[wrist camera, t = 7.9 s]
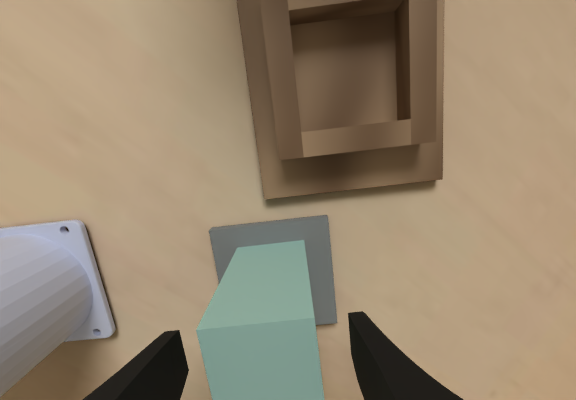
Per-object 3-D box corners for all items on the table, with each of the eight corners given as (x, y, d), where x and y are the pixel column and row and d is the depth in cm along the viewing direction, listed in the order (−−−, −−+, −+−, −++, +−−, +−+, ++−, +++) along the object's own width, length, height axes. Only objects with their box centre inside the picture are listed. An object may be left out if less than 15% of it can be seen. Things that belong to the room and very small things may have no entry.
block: (248, 306, 17) (217, 423, 10) (237, 247, 16) (196, 329, 9) (311, 299, 16) (325, 413, 10) (304, 239, 16) (314, 317, 9)
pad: (230, 326, 18) (228, 333, 17) (211, 227, 16) (208, 230, 16) (335, 316, 17) (337, 322, 17) (326, 215, 16) (328, 217, 15)
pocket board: (265, 197, 16) (261, 206, 13) (232, -40, 13) (221, -75, 11) (436, 177, 15) (460, 183, 13) (438, -70, 13) (468, -112, 11)
